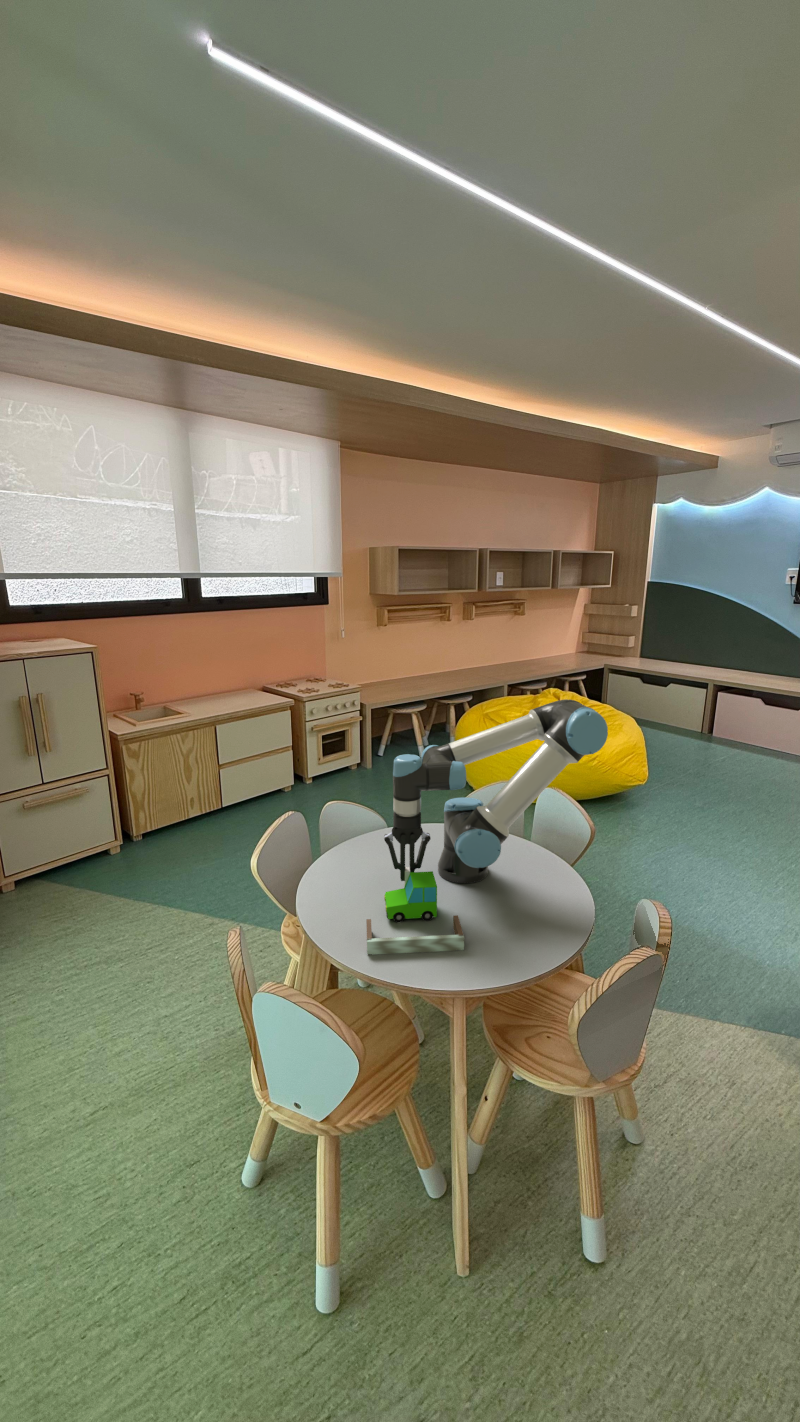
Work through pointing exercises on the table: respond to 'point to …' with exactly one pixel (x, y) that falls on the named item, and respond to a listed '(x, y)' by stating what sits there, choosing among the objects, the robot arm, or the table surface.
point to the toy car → (413, 898)
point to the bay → (416, 942)
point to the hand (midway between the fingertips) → (407, 890)
